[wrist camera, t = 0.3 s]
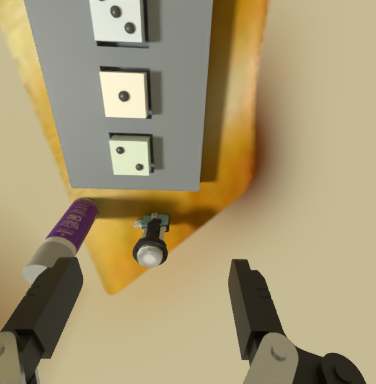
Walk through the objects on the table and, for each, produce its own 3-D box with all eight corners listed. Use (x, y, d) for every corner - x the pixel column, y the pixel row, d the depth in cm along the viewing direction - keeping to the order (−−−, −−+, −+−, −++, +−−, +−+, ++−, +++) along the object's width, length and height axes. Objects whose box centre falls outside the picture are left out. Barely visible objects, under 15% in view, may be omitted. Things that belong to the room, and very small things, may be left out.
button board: (25, -57, 24) (6, -71, 22) (213, -46, 25) (217, -58, 22) (79, 179, 38) (71, 187, 36) (198, 182, 39) (199, 191, 36)
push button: (138, 231, 44) (126, 273, 36) (132, 208, 42) (118, 248, 33) (172, 228, 44) (169, 270, 36) (168, 205, 41) (164, 244, 33)
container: (94, 196, 40) (51, 262, 27) (102, 217, 43) (66, 287, 30) (68, 199, 40) (13, 266, 28) (78, 220, 43) (32, 290, 30)
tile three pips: (94, -16, 24) (85, -23, 22) (142, -13, 24) (138, -20, 22) (101, 41, 27) (94, 40, 24) (145, 43, 27) (141, 42, 25)
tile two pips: (113, 135, 32) (108, 140, 30) (149, 136, 32) (147, 142, 30) (117, 167, 35) (113, 175, 32) (151, 168, 35) (148, 176, 33)
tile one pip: (105, 70, 28) (98, 71, 26) (146, 72, 28) (143, 73, 26) (111, 112, 31) (105, 117, 28) (148, 114, 31) (145, 118, 29)
